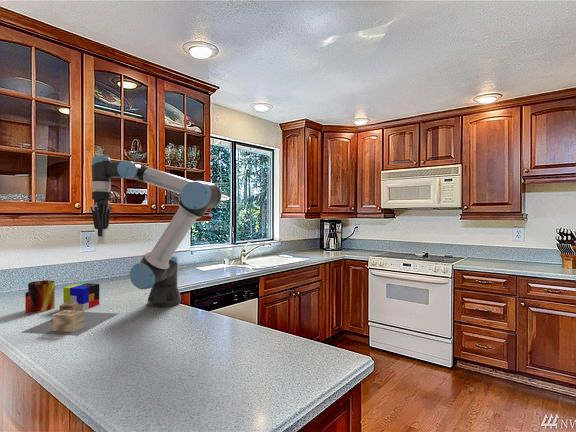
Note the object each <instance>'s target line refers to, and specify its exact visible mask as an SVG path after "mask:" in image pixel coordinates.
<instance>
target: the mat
mask: <svg viewBox="0 0 576 432" xmlns="http://www.w3.org/2000/svg"><path fill="white" fill-rule="evenodd" d="M117 315H119V313H116V312H115V313H113V312H112V313H111V312H110V313H109V312H93V311H92V312H91V311H84V327H82V328H80V329H78V330H76V331H74V332H64V331H53V318H52V319H50V320H47V321H44V322H43V323H40V324H37V325H35V326H33V327H29V328H28V329H26V330H23V331H21V333H27V334H42V335H44V334H45V335H57V336H58V335H59V336H60V335H61V336H76V337H78V336H80V335H82V334H84V333H86V332H88V331H90V330H91V329H93V328H95V327H96V326H99V325H101V324H103V323H104V322H106V321H108V320H110V319H112V318H114V317H115V316H116V317H117Z"/></svg>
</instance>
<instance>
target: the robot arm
mask: <svg viewBox="0 0 576 432" xmlns="http://www.w3.org/2000/svg"><path fill="white" fill-rule="evenodd" d="M112 178H113V179H128V180H135V181H138V182H143V183H146V184H149V185H152V186H154V187H155V186H156V187H158V188H161V189H164V190H167V191H171V192H173V193H176V194H179V195H180V199H179V201H178V207H179V208H178V209H177V211H176V213H175V214H174V215H173V217H172V219H171V220H170V222H169V223H168V225H167V226H166V228H165V229H164V231H163V232H162V234H161V236H160V237H159V239H158V241H157V242H156V243H155V245H154V247H153V248H152V250H151V251H149V252H146V253H145V254H144V256H142V259H141V260H140V262H136V263H135V264H134V265H132V267H131V268H130V271H129V278H130V282H131V283H132V285H133V286H134V287H135V288H137V289H139V290H147V289H150V291H149V294H148V296H147V305H148V306H149V307H152V308H153V307H155V308H161V307H162V308H167V307H172V306H177V305H179V304H180V303H181V302H182V296H181V293H180V290H179V288H178V257H177V256H176V255H174V254H175V252H176V251H177V249H179V247H180V245H181V243H182V242H183V240H184V239H185V237H186V236H187V234H188V233H189V231H190V230H191V228H192V227H193V225H194V224H195V222H196V221H197V219H201V218H203V217H204V215H205V214H206V212H207V211H208V209H213V208H215V207H217V206H218V205H219V204H220V202H221V200H222V191H221V190H220V188H219V186H218V185H216V184H214V183H212V182H207V181H202V180H190V179H187V178H184V177H181V176H178V175H175V174H171V173H168V172H166V171H162V170H159V169H155V168H152V167H149V166H148V165H144V164H140V163H139V164H138V163H135V162H133V160H112V159H111V157H109V156H104V155H103V156H102V155H101V156H99V155H97V156H96V155H95V156H92V158H91V190H92V192H91V199H92V201H94V202H93V206H90V210H91V215H92V219H93V220H92V221H93V227H94V229H95V230H97V244H98V245H99V244H106V242H107V241H106V230H107V229H108V230H109V228H110V227H109V226H110V218H111V211H112V209H113V208H112V206H110V205H109V201H110V200H111V199H112V197H111V196H112V195H111V189H112V184H111V179H112Z"/></svg>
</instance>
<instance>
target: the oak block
mask: <svg viewBox="0 0 576 432" xmlns="http://www.w3.org/2000/svg"><path fill="white" fill-rule="evenodd" d="M84 312H85V310H84V311H80V310H78V311H75V310H63V311H61V312H60V311H59V312H56V313H53V314H52V319H53V331H64V332H74V331H76V330H78V329H80V328H82V327H84Z"/></svg>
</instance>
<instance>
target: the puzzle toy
mask: <svg viewBox="0 0 576 432" xmlns="http://www.w3.org/2000/svg"><path fill="white" fill-rule="evenodd" d="M62 290H63V303H65V302H78V311H84V312H85V311H87V310H89V309H92V308H94V307H97V306H100V283H91V282H89V283H88V282H79V283H75V284H71V285H67V286H64V287H63V289H62Z"/></svg>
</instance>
